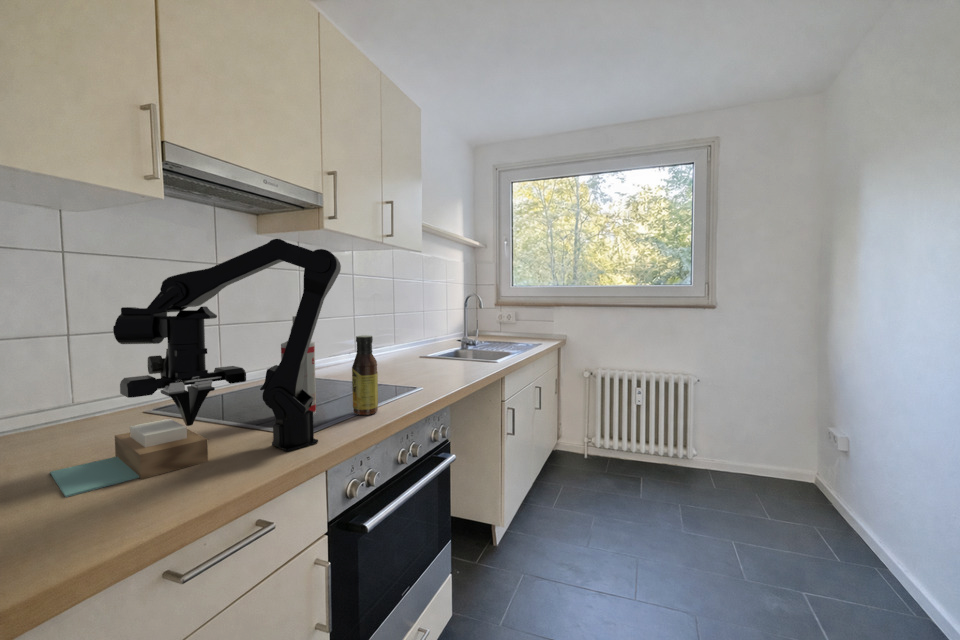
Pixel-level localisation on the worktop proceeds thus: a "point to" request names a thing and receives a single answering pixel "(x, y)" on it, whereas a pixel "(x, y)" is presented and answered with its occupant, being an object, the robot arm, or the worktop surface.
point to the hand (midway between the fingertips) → (189, 425)
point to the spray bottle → (307, 371)
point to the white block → (158, 432)
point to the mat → (92, 476)
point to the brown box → (161, 454)
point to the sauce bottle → (365, 378)
